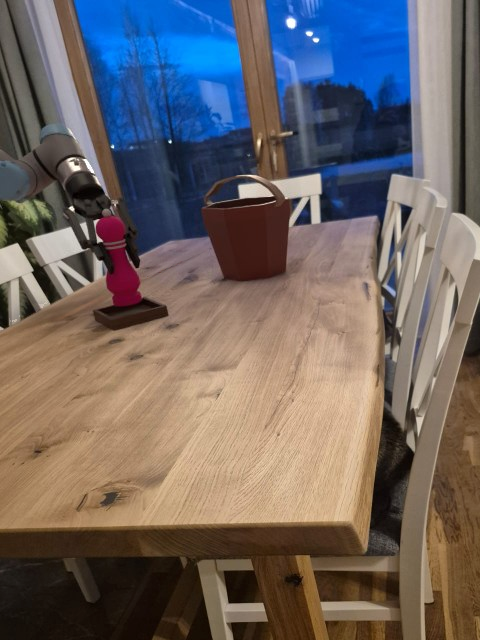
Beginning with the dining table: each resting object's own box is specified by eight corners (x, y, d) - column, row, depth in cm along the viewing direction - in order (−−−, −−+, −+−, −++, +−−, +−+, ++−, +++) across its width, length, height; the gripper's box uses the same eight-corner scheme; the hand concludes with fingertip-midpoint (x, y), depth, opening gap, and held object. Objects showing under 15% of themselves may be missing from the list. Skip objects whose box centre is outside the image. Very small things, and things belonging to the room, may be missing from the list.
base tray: (95, 319, 132) (92, 310, 131) (147, 306, 138) (144, 296, 137) (113, 330, 122) (111, 320, 121) (168, 315, 128) (166, 305, 127)
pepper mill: (135, 296, 133) (115, 205, 125) (150, 300, 128) (129, 206, 119) (106, 304, 129) (82, 211, 121) (119, 309, 124) (95, 212, 115)
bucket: (198, 277, 161) (181, 181, 151) (260, 259, 174) (248, 171, 163) (251, 287, 144) (235, 180, 133) (315, 267, 156) (306, 168, 146)
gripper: (38, 177, 120) (83, 265, 115) (121, 166, 129) (167, 247, 124) (40, 203, 126) (82, 287, 121) (119, 191, 135) (162, 269, 130)
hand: (125, 267), depth 122 cm, fingers closed on pepper mill, 5 cm apart
